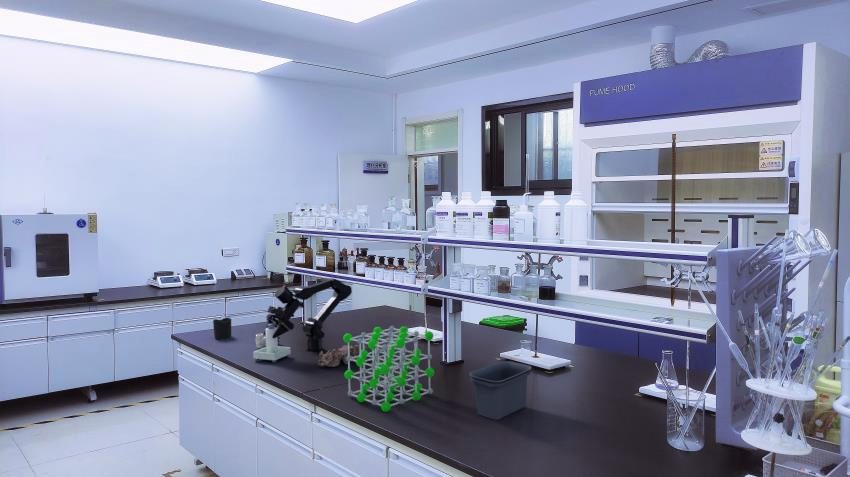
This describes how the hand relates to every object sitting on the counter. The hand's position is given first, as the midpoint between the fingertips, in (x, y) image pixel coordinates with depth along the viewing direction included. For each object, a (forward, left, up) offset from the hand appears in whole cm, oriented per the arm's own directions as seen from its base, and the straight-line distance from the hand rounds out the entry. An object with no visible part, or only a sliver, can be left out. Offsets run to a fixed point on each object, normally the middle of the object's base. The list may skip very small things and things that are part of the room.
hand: (268, 336), depth 268 cm
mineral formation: (-36, -5, -11) cm, 38 cm away
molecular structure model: (-76, +28, -11) cm, 81 cm away
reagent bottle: (-1, -1, -8) cm, 9 cm away
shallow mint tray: (-1, -1, -11) cm, 11 cm away
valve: (+19, -22, -11) cm, 31 cm away
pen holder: (+53, -29, -11) cm, 62 cm away
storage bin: (-118, +29, -11) cm, 122 cm away
